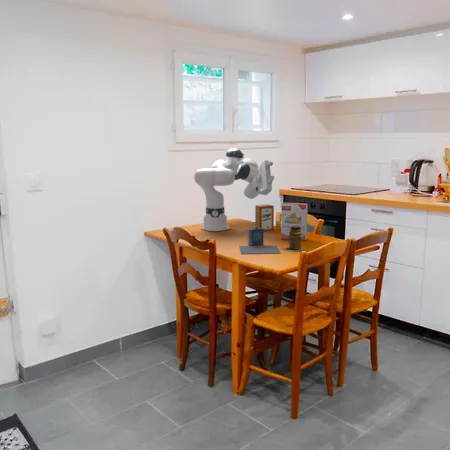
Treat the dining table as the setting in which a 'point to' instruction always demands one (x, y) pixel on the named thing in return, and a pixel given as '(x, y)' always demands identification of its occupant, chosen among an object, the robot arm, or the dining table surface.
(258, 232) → the flask
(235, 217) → the dining table surface
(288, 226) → the cracker box
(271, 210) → the baking soda box
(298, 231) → the condiment
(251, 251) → the slate mat
